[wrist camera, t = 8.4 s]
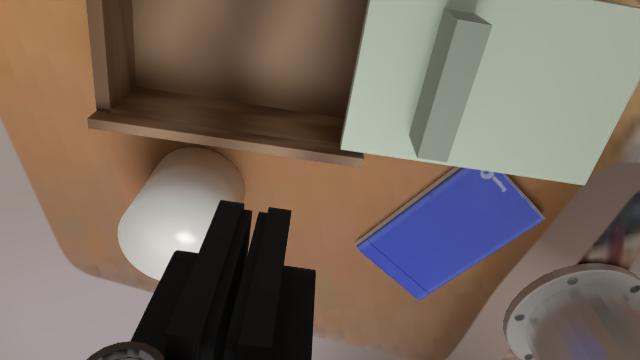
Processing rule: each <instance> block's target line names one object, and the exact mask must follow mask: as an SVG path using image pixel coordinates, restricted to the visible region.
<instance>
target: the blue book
mask: <svg viewBox="0 0 640 360" xmlns="http://www.w3.org/2000/svg"><path fill="white" fill-rule="evenodd" d="M543 220H545V218H544V216H543V215H542V213H541V212H540V211H539V210H538V209H537V208H536V207H535V205H534V204H533V203H532V202H531V201H530V200H529V199H528V198H527V197H526V196H525V194H524V193H523V192H522V191H521V190H520V189H519V188H518V187H517V186H516V185H515V183H514V182H513V181H512V180H511V179H510V178H509V177H508V176H507V175H506V174H504V173H497V172H490V171H483V170H476V169H470V168H463V167H456V166H455V167H454V168H453V169H451V170H450V171H449V172H447V173H446V174H445V175H443V176H442V177H441V178H439V179H438V180H437V181H435V182H434V183H433V184H431V185H430V186H429V187H427V188H426V189H425V190H424V191H422V192H421V193H420V194H418V195H417V196H416V197H414V198H413V199H412V200H410V201H409V202H408V203H406V204H405V205H404V206H402V207H401V208H400V209H399V210H397V211H396V212H395V213H393V214H392V215H391V216H389V217H388V218H387V219H385V220H384V221H383V222H381V223H380V224H379V225H378V226H376V227H375V228H374V229H372V230H371V231H370V232H368V233H367V234H366V235H364V236H363V237H362V238H360V239H359V240H358V241H357V248H358V249H359V250H360V251H361V252H362V253H363V254H364V255H365V256H366V257H367V258H369V259H370V260H371V261H372V262H374V263H375V264H376V265H377V266H378V267H379V268H381V269H382V270H383V271H384V272H386V273H387V274H388V275H389V276H390V277H392V278H393V279H394V280H395V281H396V282H397V283H399V284H400V285H401V286H402V287H404V288H405V289H406V290H407V291H408V292H409V293H411V294H412V295H413V296H414V297H415V298H417V299H418V300H421V299H422V298H424V297H426V296H427V295H429V294H430V293H431V292H433V291H434V290H436V289H438V288H439V287H441V286H442V285H444V284H445V283H447V282H448V281H450V280H452V279H453V278H455V277H456V276H458V275H459V274H461V273H462V272H464V271H465V270H467V269H469V268H470V267H472V266H473V265H475V264H477V263H478V262H480V261H481V260H483V259H484V258H486V257H488V256H489V255H491V254H492V253H494V252H495V251H497V250H498V249H500V248H502V247H503V246H505V245H506V244H508V243H509V242H511V241H512V240H514V239H516V238H517V237H519V236H520V235H522V234H523V233H525V232H526V231H528V230H530V229H531V228H533V227H534V226H536V225H537V224H539V223H540V222H542V221H543Z"/></svg>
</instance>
